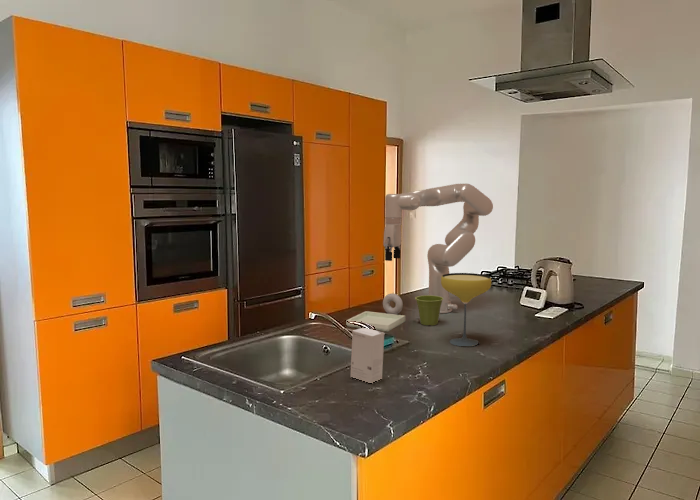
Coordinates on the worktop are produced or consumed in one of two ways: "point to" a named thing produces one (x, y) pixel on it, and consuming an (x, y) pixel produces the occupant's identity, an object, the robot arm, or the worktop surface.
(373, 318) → the tray
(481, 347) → the worktop surface
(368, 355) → the skincare box
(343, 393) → the worktop surface
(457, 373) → the worktop surface
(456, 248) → the robot arm
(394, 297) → the donut
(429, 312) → the plant pot
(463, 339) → the cocktail glass
